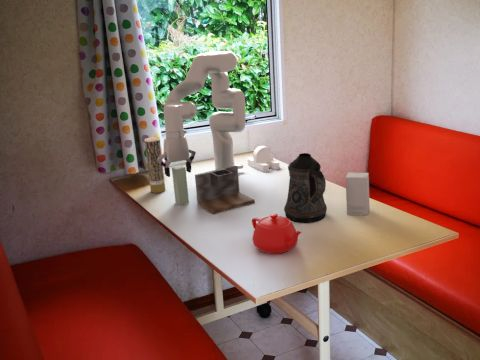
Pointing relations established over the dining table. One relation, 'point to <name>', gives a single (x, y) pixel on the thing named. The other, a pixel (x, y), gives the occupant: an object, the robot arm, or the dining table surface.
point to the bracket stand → (220, 190)
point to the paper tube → (154, 164)
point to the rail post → (180, 185)
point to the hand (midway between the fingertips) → (178, 173)
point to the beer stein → (305, 191)
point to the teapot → (274, 234)
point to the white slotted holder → (263, 159)
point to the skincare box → (357, 193)
